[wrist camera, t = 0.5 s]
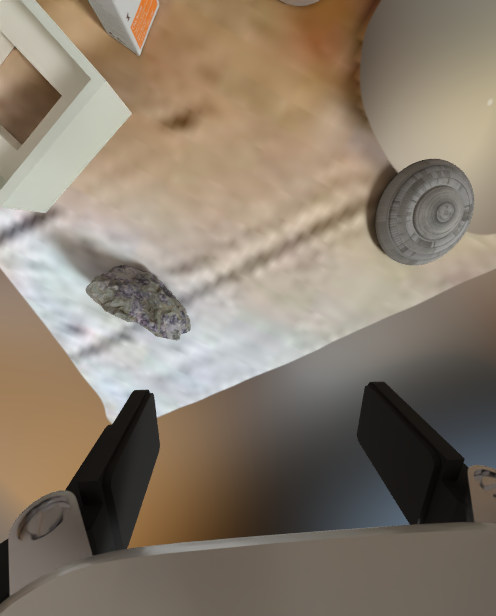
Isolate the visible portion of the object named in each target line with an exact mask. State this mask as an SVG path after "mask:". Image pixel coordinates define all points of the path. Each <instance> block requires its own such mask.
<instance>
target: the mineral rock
mask: <svg viewBox="0 0 496 616" xmlns="http://www.w3.org/2000/svg"><path fill="white" fill-rule="evenodd" d="M86 293H87V294H88V295H89V296H90V297H91V298H92V299H93V300H94V301H95V302H96V303H98V304H99V305H101V306H102V308H104V310H105V311H107V312H109V313H111V314H113V315H115V316H117V317H119V318H121V319H123V320H126V321H127V322H136V323H138V324H140V325H142V326H143V327H145V328H146V329H148V330H149V331H150V332H152V333H153V334H154V335H155V336H157V337H163V338H167V339H172V340H176V341H177V340H179V339H180V335H181V334H183V333H187V332H188V331H190V326H191V325H190V319H189V317H188V315H186V310H185V308H184V307H183V306H182V305H181V304H180V303H179V301H178V300H177V299H176V297H175V296H173V295H172V292H171V291H169V290H167V289H166V288H165V287H164V286H163V283H162V282H161V281H158V280H157V279H156V278H155V277H154V276H153V275H152V274H151V273H148V272H147V273H146V272H141V271H139V270H138V269H135V268H133V267H128V266H125V265H123V266H122V265H121V266H118V267H114V268H112V269H111V270H110V271H109V272H108V274H102V275H101V276H98V277H96V278H94V280H93V281H92V282H91V283H90V284H89V285H88V286H87V288H86Z"/></svg>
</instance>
